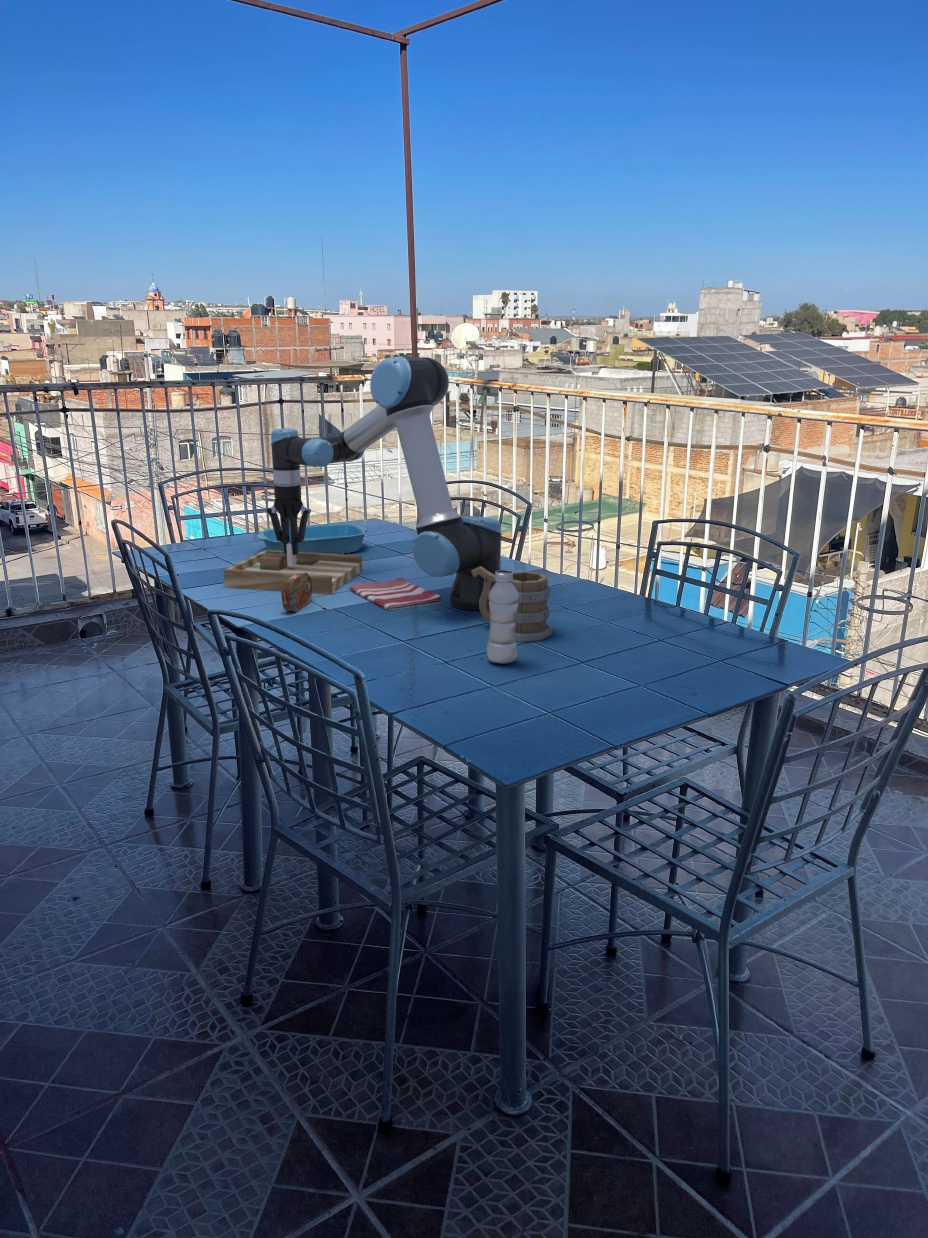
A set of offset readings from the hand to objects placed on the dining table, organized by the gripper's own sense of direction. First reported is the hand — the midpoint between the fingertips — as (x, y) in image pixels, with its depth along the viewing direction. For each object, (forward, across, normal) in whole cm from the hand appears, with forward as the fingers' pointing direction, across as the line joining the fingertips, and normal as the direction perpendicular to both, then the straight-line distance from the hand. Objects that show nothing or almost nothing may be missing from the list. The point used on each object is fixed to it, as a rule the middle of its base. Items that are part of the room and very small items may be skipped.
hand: (291, 565), depth 248 cm
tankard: (+5, -70, +34) cm, 78 cm away
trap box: (+4, -2, 0) cm, 5 cm away
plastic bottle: (+5, -72, +56) cm, 91 cm away
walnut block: (+1, +6, 0) cm, 6 cm away
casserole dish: (+5, +8, -37) cm, 38 cm away
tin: (+5, -13, +27) cm, 30 cm away
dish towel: (+5, -35, +11) cm, 37 cm away
